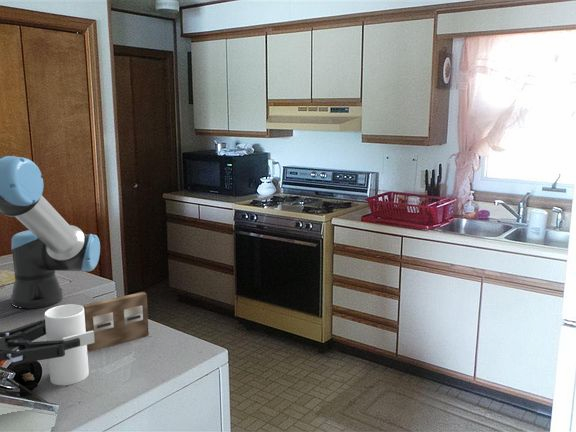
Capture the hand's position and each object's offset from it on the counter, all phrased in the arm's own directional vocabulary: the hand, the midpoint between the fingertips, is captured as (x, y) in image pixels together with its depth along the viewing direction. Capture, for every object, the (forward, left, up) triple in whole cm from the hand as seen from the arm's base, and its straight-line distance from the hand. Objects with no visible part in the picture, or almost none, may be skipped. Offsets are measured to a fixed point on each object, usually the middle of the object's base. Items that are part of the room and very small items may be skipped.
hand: (86, 328), depth 120 cm
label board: (-17, -5, -10) cm, 21 cm away
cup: (+4, -2, -11) cm, 12 cm away
